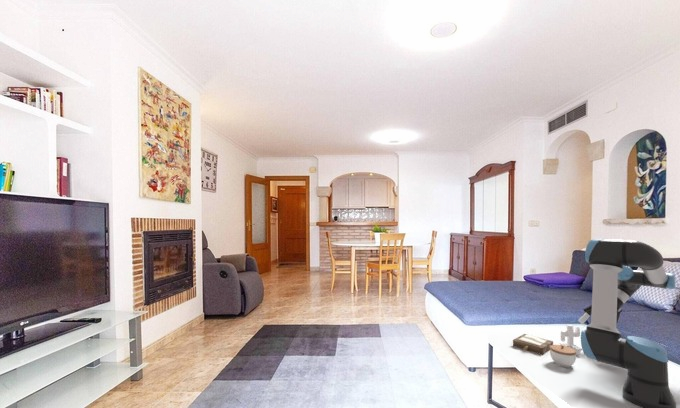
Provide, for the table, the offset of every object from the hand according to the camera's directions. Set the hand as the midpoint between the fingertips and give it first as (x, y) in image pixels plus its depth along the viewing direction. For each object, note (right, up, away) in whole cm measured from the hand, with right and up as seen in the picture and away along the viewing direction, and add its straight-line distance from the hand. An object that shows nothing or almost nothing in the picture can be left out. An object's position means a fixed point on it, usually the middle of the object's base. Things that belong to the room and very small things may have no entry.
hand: (589, 326), depth 172 cm
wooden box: (-28, -14, +6) cm, 32 cm away
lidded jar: (-25, -13, -15) cm, 32 cm away
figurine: (-11, -14, -1) cm, 18 cm away
